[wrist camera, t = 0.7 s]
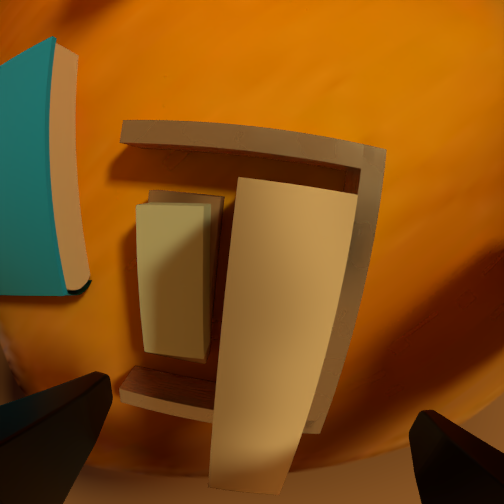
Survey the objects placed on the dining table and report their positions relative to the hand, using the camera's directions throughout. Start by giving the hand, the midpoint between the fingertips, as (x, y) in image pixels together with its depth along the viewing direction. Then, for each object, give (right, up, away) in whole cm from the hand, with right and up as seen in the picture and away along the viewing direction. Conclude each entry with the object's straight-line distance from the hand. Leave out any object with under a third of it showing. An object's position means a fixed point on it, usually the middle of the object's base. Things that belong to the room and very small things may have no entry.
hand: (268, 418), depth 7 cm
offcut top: (-4, +3, +10) cm, 11 cm away
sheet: (0, +2, +11) cm, 11 cm away
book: (-24, +10, +12) cm, 28 cm away
